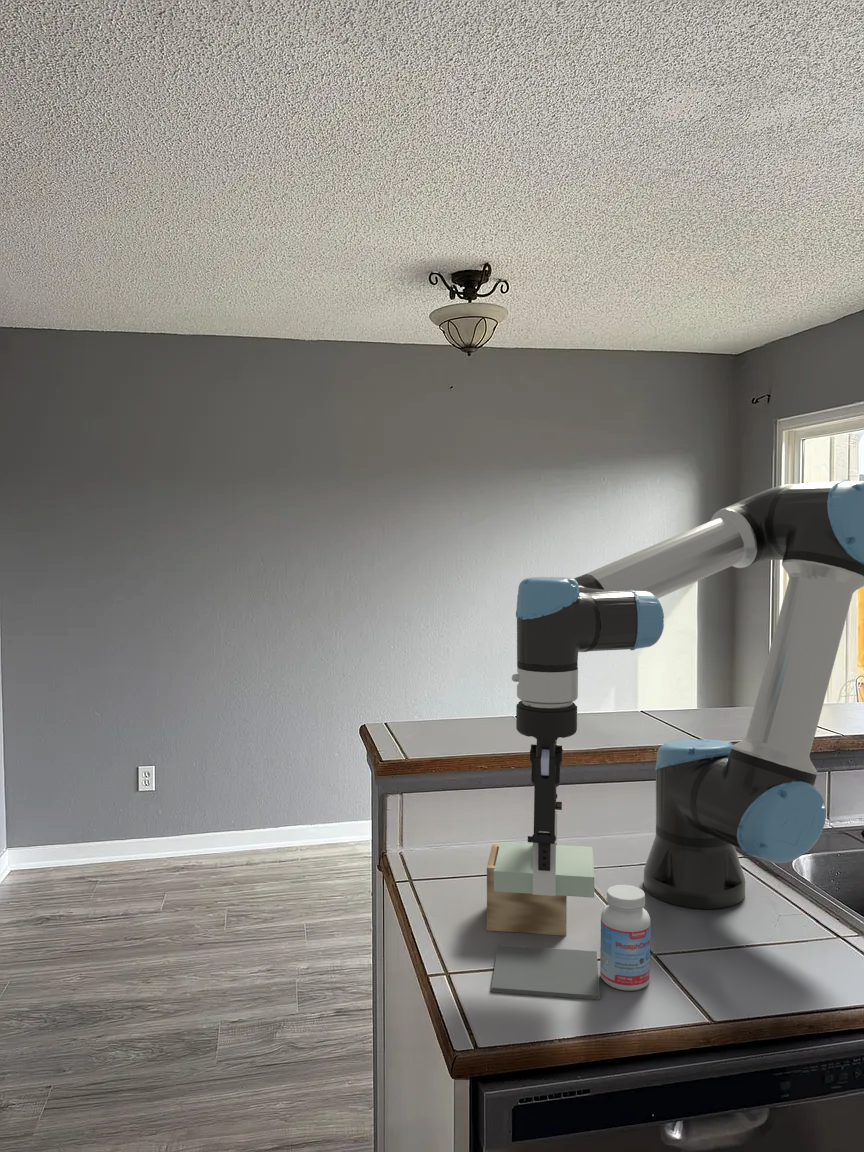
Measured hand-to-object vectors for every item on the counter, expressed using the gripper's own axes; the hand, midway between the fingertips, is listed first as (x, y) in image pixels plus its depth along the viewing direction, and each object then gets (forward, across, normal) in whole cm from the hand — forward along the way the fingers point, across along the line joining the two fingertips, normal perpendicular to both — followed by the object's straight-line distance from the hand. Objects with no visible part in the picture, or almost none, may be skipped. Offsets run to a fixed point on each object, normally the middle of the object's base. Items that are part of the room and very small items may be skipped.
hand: (545, 876), depth 112 cm
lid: (0, 0, 0) cm, 0 cm away
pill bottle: (+13, 0, +10) cm, 16 cm away
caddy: (+13, -15, -3) cm, 20 cm away
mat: (+13, 0, 0) cm, 13 cm away
